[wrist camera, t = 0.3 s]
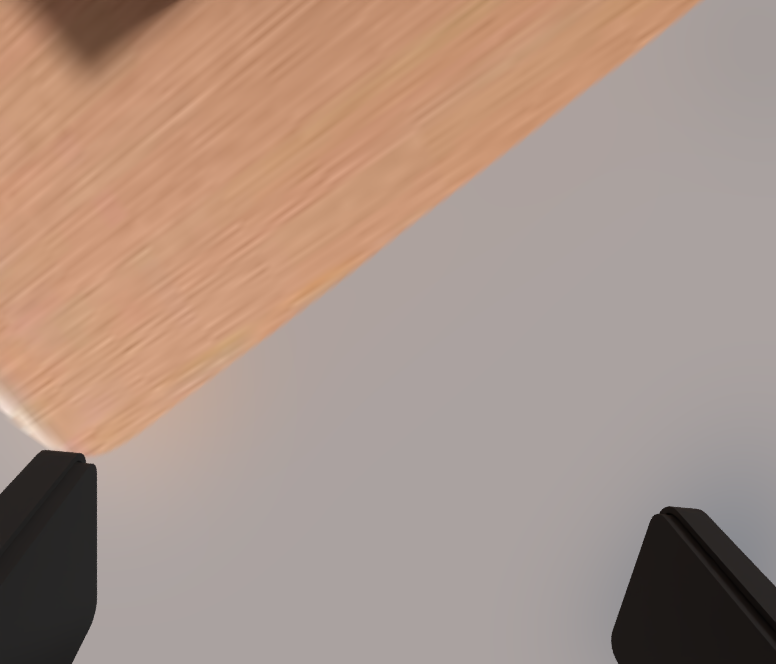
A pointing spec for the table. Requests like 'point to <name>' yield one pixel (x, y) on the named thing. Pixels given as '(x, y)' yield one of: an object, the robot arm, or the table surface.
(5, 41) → the table surface
